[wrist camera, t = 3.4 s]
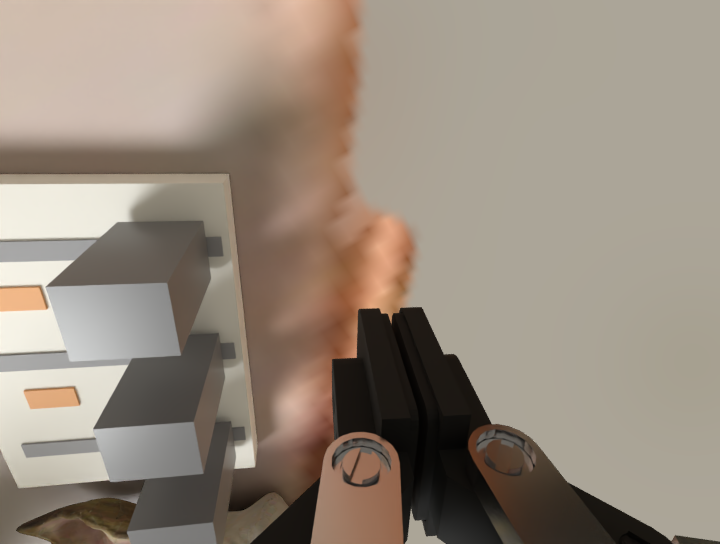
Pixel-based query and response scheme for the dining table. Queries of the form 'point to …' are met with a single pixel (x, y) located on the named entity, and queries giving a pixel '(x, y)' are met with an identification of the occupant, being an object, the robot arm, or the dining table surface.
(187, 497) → the slider
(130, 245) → the slider
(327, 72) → the dining table surface
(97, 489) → the dining table surface
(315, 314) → the dining table surface
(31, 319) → the switch panel
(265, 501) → the ceramic sculpture
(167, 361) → the slider
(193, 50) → the dining table surface
